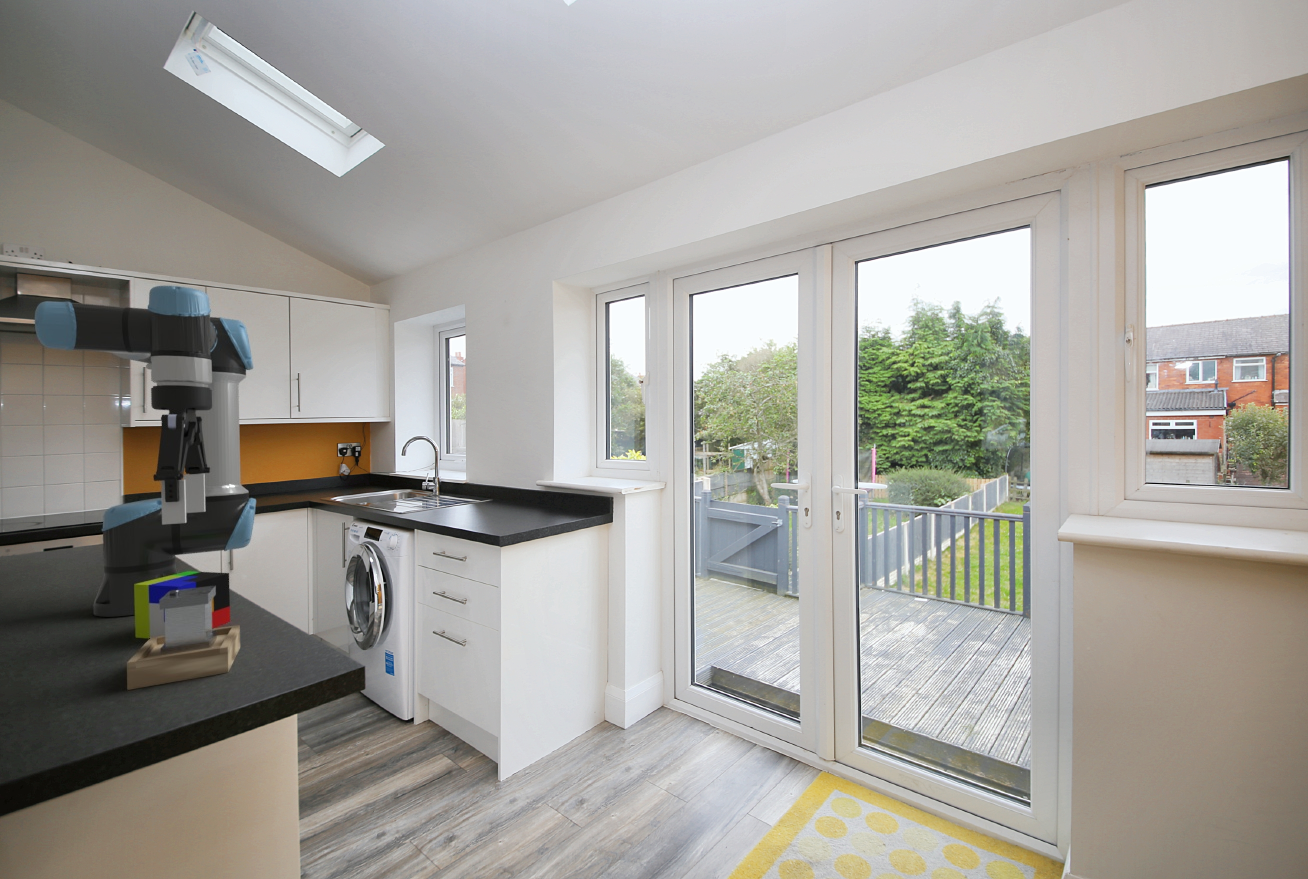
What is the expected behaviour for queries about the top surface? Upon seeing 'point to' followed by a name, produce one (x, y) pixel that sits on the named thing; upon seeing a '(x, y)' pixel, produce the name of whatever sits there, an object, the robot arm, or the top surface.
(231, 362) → the robot arm
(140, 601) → the puzzle toy
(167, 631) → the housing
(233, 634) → the tray
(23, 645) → the top surface
